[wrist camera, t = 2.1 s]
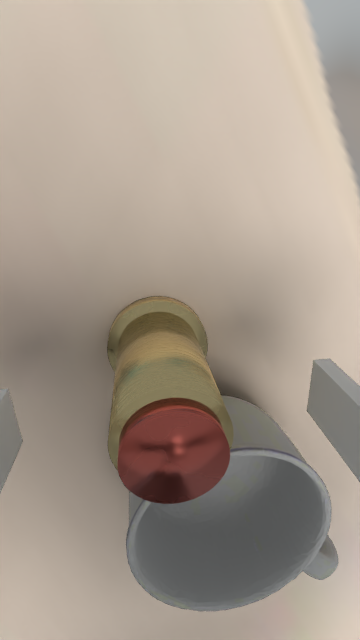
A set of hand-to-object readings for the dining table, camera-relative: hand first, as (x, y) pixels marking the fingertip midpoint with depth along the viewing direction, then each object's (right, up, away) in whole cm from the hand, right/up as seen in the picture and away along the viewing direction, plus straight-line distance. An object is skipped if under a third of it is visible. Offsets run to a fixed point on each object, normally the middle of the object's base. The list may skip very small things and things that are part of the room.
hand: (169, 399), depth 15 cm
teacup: (+3, -6, +10) cm, 12 cm away
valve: (-1, +2, +6) cm, 7 cm away
